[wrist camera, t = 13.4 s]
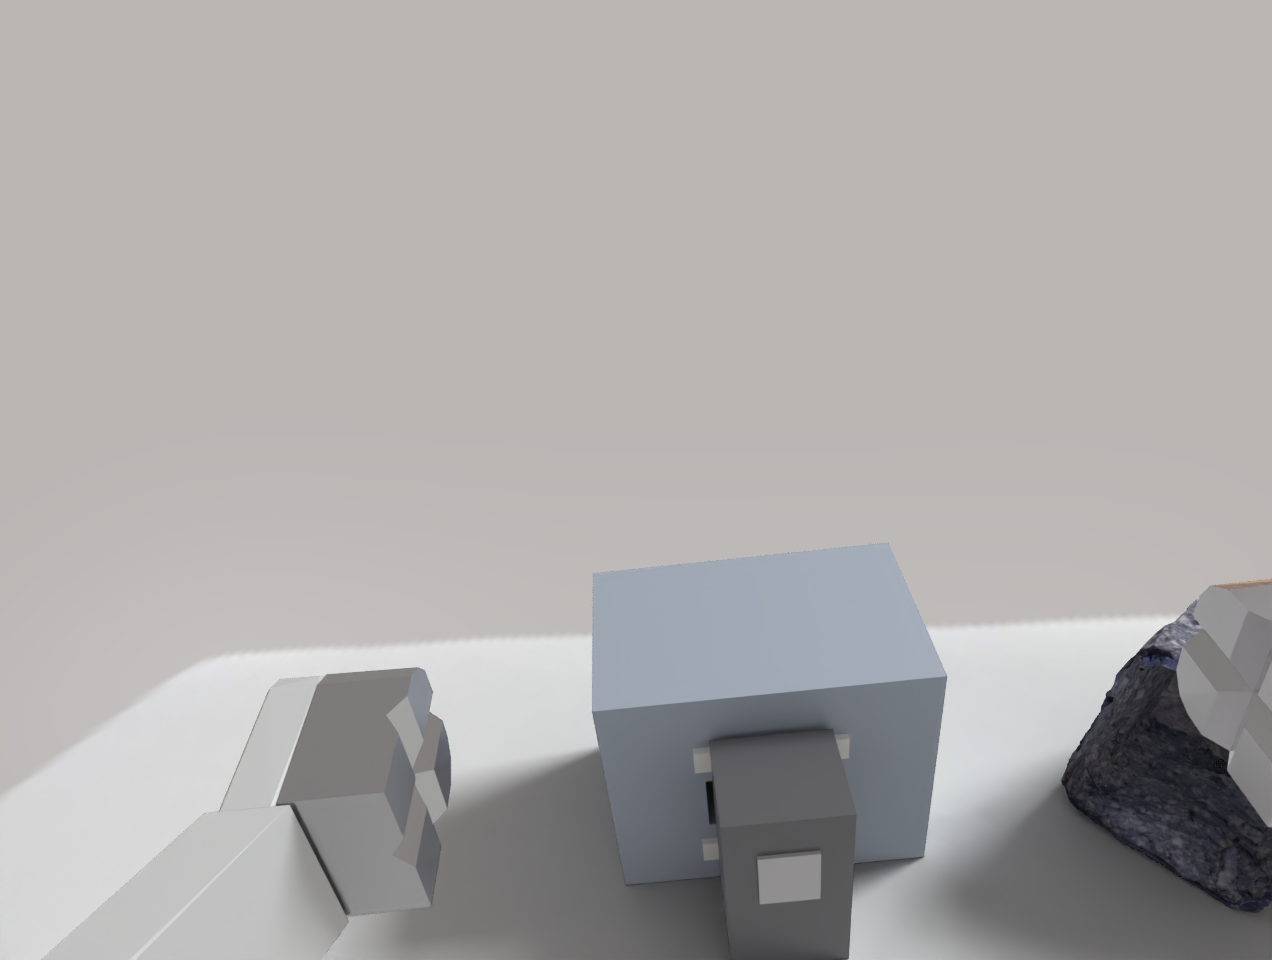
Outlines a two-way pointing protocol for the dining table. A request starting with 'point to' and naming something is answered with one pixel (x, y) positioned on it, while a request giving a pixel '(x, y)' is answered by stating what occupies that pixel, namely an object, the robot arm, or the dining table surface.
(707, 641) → the socket
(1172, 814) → the stone
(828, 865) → the plug
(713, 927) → the dining table surface
